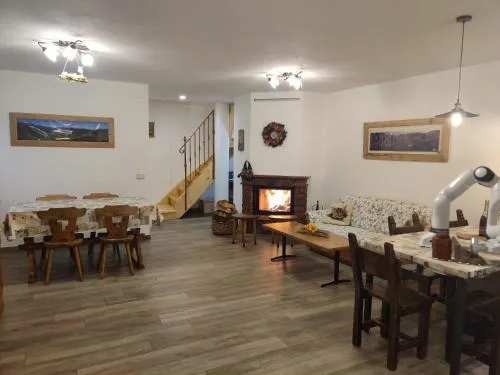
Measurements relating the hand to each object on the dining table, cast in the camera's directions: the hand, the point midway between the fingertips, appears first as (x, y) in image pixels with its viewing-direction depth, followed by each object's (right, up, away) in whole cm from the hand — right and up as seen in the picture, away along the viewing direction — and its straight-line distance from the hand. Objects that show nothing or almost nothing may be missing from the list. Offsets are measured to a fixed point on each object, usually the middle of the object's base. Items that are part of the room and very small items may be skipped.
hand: (473, 246), depth 223 cm
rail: (+1, -10, +10) cm, 14 cm away
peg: (+1, -7, +1) cm, 7 cm away
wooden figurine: (-15, -10, +10) cm, 21 cm away
